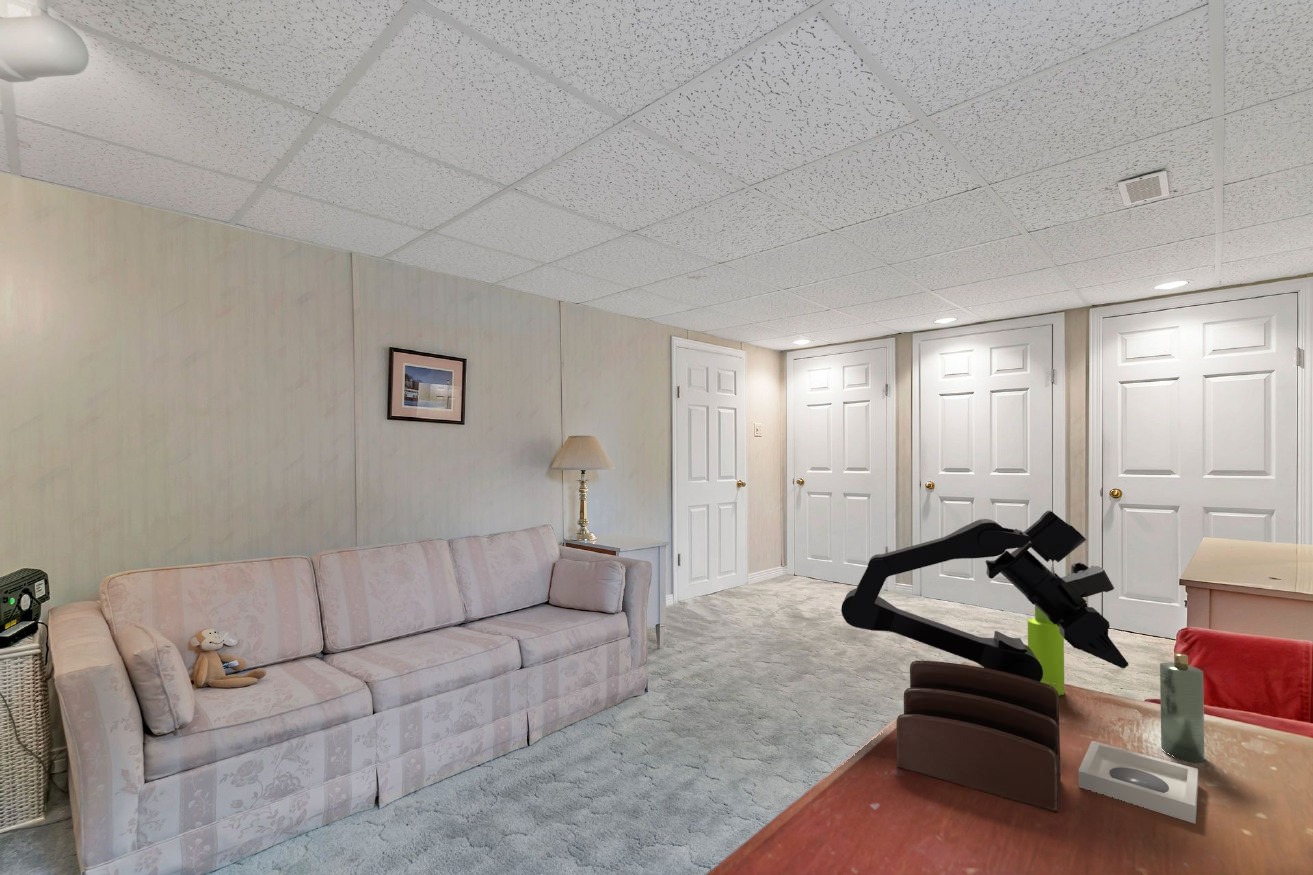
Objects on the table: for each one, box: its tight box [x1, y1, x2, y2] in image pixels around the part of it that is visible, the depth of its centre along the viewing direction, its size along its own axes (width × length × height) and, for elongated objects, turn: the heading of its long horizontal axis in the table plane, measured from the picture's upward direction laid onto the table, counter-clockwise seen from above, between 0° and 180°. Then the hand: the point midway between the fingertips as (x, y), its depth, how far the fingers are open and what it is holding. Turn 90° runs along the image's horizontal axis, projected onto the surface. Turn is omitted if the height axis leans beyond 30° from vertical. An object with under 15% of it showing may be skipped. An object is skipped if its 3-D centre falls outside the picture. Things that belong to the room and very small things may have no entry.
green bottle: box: [1159, 652, 1206, 763], centre depth 92 cm, size 5×5×15 cm
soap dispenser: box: [1027, 605, 1065, 697], centre depth 117 cm, size 6×7×20 cm
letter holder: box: [895, 660, 1062, 814], centre depth 87 cm, size 10×20×14 cm, turn 55°
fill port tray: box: [1077, 740, 1199, 825], centre depth 83 cm, size 12×12×2 cm
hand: (1116, 656), depth 96 cm, fingers open, 9 cm apart
